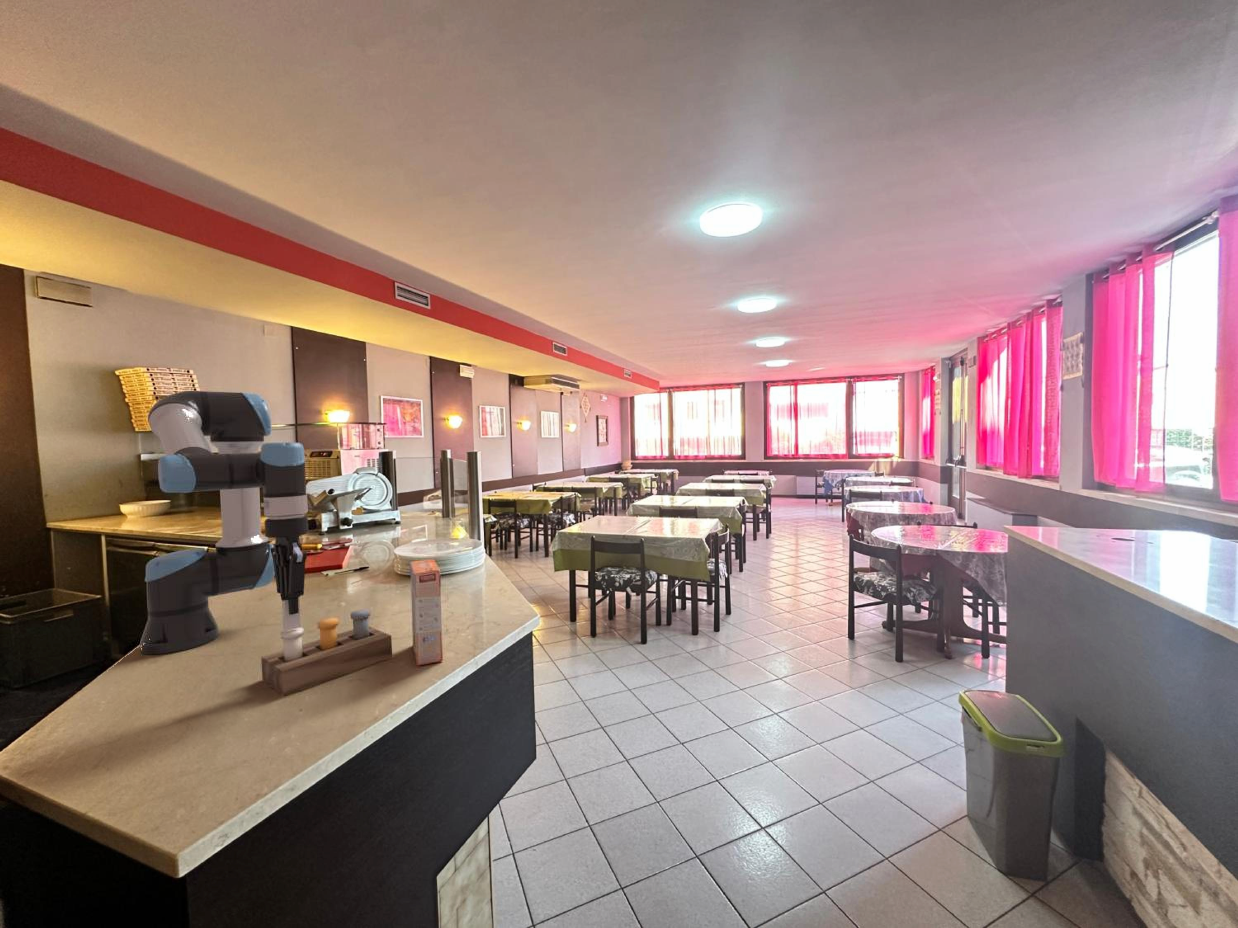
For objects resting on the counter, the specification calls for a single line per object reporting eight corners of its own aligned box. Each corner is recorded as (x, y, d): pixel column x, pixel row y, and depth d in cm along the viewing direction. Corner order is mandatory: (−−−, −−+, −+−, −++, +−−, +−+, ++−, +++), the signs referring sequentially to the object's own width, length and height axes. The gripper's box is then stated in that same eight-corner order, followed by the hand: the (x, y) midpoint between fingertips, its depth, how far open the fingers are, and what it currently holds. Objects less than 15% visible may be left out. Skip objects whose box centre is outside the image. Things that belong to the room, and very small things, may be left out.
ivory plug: (279, 664, 104) (277, 631, 104) (300, 658, 108) (299, 626, 107) (286, 669, 102) (284, 635, 102) (308, 662, 105) (306, 629, 105)
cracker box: (444, 661, 112) (441, 569, 111) (415, 667, 109) (412, 573, 109) (438, 640, 125) (435, 557, 124) (412, 645, 122) (408, 560, 121)
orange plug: (315, 653, 110) (314, 621, 110) (335, 647, 113) (333, 616, 113) (323, 657, 107) (322, 625, 107) (343, 651, 111) (341, 620, 110)
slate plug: (348, 642, 115) (347, 613, 115) (366, 637, 119) (365, 608, 118) (356, 646, 113) (355, 616, 113) (374, 641, 116) (373, 611, 116)
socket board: (262, 679, 105) (261, 656, 105) (367, 645, 123) (366, 625, 123) (283, 695, 98) (282, 670, 98) (392, 656, 115) (391, 635, 115)
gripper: (254, 516, 105) (260, 627, 105) (277, 521, 97) (283, 640, 97) (294, 512, 111) (299, 617, 111) (319, 516, 103) (324, 629, 103)
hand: (292, 628), depth 104 cm, fingers closed
